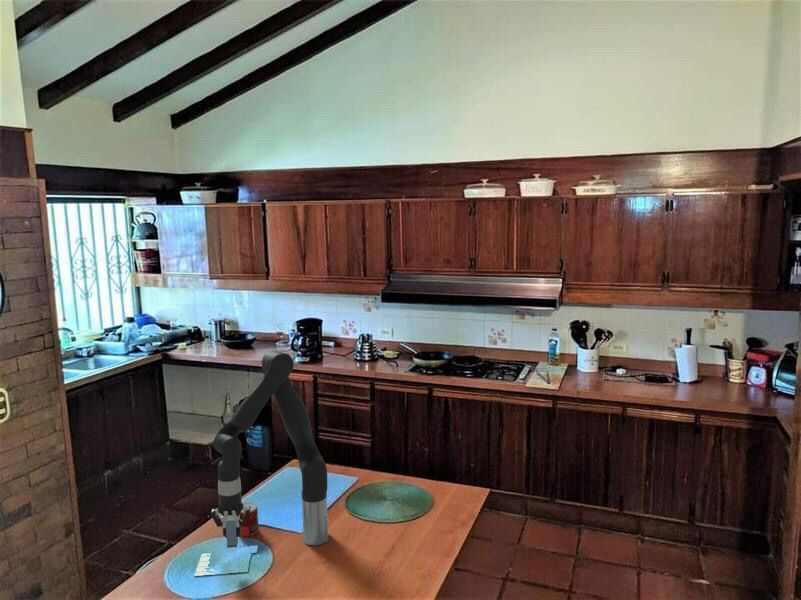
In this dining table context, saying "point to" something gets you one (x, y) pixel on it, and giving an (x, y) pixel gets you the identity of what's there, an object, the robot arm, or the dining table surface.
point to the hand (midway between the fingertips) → (232, 535)
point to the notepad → (204, 566)
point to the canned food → (249, 521)
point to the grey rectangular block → (231, 532)
